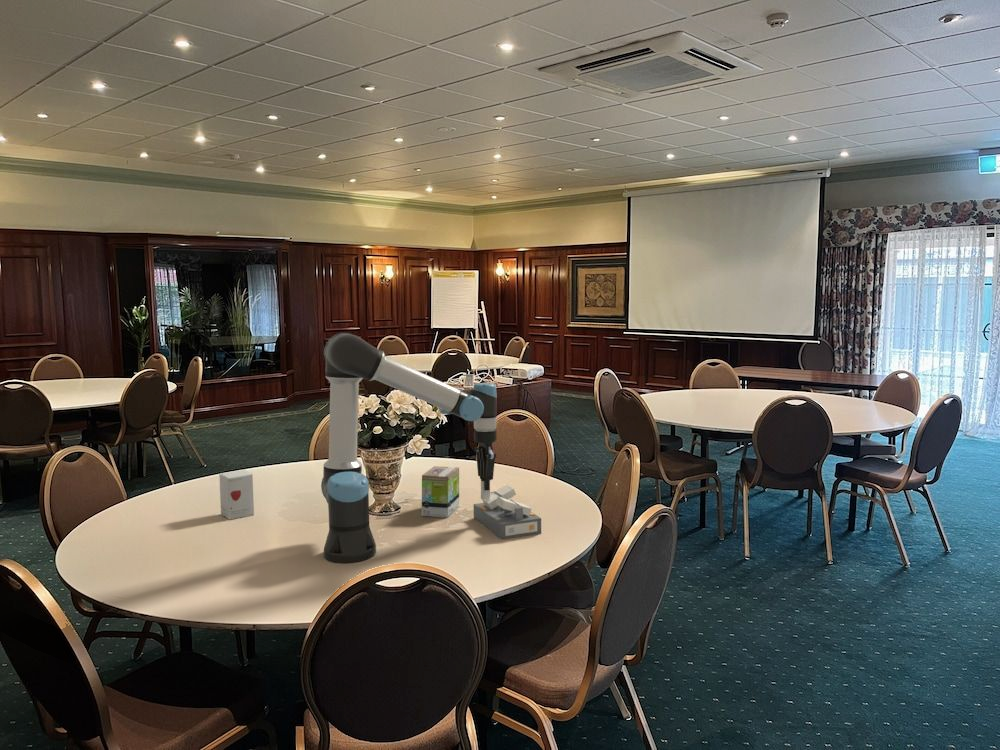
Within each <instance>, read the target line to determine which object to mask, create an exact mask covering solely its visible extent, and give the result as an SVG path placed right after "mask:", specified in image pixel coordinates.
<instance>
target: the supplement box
mask: <svg viewBox="0 0 1000 750" xmlns="http://www.w3.org/2000/svg"><path fill="white" fill-rule="evenodd" d="M218 475H219V494H220V495H219V497H220V498H219V499H220V515H221V516H223V517H224V516H225V517H224V518H226V519H227V518H228V519H227V520H229V519H231V520H236V519H241V518H245V517H246V516H247V517H250V516H251V515H252V516H254V515H255V507H254V506H255V505H254V499H255V498H254V480H253V478H254V477H253V473H252V472H250V471H247V470H245V469H243V470H242V469H239V470H236V471H235V470H233V471H228V472H220V473H218ZM240 517H241V518H240ZM247 517H246V518H247ZM235 518H236V519H235Z"/></svg>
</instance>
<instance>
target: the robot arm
mask: <svg viewBox="0 0 1000 750" xmlns="http://www.w3.org/2000/svg"><path fill="white" fill-rule="evenodd" d="M324 345H325V346H324V348H323V356H324V360H325V375H324V376H325V378H326V380H328V382H329V384H330V386H329V387H330V388H329V391H330V392H329V425H328V426H329V432H328V433H329V436H328V441H329V442H328V458H327V460H326V461H325V462H324V463H323V477H322V479H321V485H320V487H321V493H322V496H323V497H324V499H325V500H326V503H327V506H328V528H329V529H328V533H327V536H326V540H325V544H324V547H323V557H324V558H325V560H327V561H330V562H333V563H342V564H343V563H344V564H347V563H357V562H360V561H365V560H369V559H371V558H372V557H374V556H375V555H376V553H377V544H376V540H375V539H374V535H373V533H372V530H371V528H370V505H369V504H370V501H369V500H370V499H369V498H370V497H369V490H370V486H369V480H368V478H367V476H366V475H364V473H362V471H363V469H362V467H363V466H362V465H363V464H362V462H360V461H359V459H358V429H359V427H358V426H359V392H360V391H359V388H360V387H359V384H360V383H361V381H362V380H366V381H368V382H371V381H378V382H380V383H382V384H384V385H386V386H389V387H391V388H394V389H396V390H398V391H400V392H402V393H405V394H407V395H409V396H411V397H415V398H416V399H418V400H421V401H423V402H426V403H428V404H430V405H432V406H433V407H437V408H438V411H439V413H440V414H441V415H454V416H457V417H459V418H462V419H463V420H465V421H467V422H473V429H474V431H473V441H474V442H476V443H478V444H477V445H478V446H475V448H474V450H475V454H476V455H475V456H476V466H477V468H476V469H477V476H478V477H479V479H480V499H481V500H482V501H483V500H487V499H490V494H491V481H493V479H494V471H495V463H496V462H495V461H496V457H497V453H496V452H494V447H493V443H494V442H497V440H498V439H497V430H496V429H497V422H498V418H497V400H498V399H497V398H498V395H497V386H496V384H495V383H491V382H479V383H478V382H477V383H474V384H473V389H469V390H468V389H467V390H460V389H459V388H456V387H454V386H451V385H450V384H447V383H445V382H443V381H441V380H439V379H436V378H434V377H432V376H430V375H428V374H426V373H423V372H421V371H419V370H417V369H416V368H415V369H414V368H413V367H410V366H408V365H406V364H404V363H402V362H400V361H397V360H395V359H392V358H390V357H389V356H386V354H385V352H384V351H383V350H381V349H379V348H377V347H375V346H374V345H372V344H370V343H368V342H367V341H366V340H364V339H363V338H361V337H360V336H358V335H355V334H352V333H347V332H340V333H336V334H335V335H333V336H332V337H330V338H329V339H328V341H326V343H325V344H324Z"/></svg>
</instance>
